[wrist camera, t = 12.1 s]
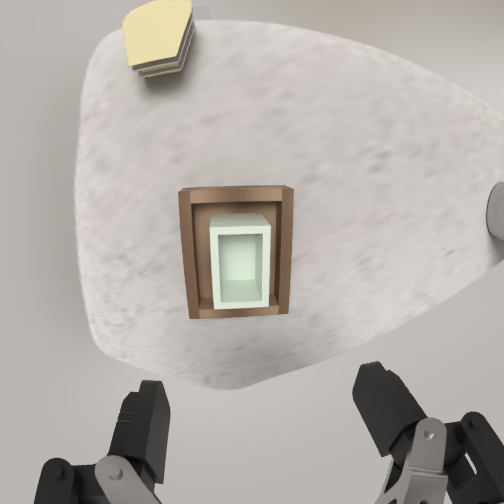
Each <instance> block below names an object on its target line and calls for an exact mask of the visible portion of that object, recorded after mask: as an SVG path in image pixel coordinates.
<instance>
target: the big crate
mask: <svg viewBox="0 0 504 504" xmlns="http://www.w3.org/2000/svg"><path fill="white" fill-rule="evenodd" d="M293 195H294V189H292V188H290V187H287V186H221V187H197V188H183V189H182V190H180V191H179V192H178V196H179V213H180V228H181V241H182V253H183V264H184V274H185V283H186V292H187V301H188V309H189V317H190V319H205V318H229V317H248V316H263V315H277V314H288V308H289V292H290V274H291V254H292V229H293ZM241 213H262V215H263V216H264V217H265V219H266V220H267V221H268V223H269V224H270V225H271V238H270V278H269V307H255V308H236V309H214V301H213V286H212V269H211V250H210V221H211V214H241Z"/></svg>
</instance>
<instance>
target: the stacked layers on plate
mask: <svg viewBox="0 0 504 504" xmlns="http://www.w3.org/2000/svg"><path fill="white" fill-rule="evenodd" d="M210 16H211V15H210V6H202V7H193V8H192V6H191V0H155V1H153V2H150V3H148V4H145V5H143V6H141V7H139V8H136V9H134V10H133V11H131V12H130V13H129V14H128V15H127V16H126V17H125V18H124V20H123V23H122V30H123V37H124V43H125V49H126V55H127V61H128V66H132V68H133V70H134V71H138V72H139V76H140V77H146V76H147V77H148V78H149V77H154V76H159V75H164V74H169V73H174V72H180V71H181V69H182V68H183V65H184V61H185V58H186V54H187V51H188V48H189V45H190V41H191V38H192V35H193V32H194V29H195V23H194V20H211V17H210Z"/></svg>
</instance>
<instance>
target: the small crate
mask: <svg viewBox="0 0 504 504" xmlns="http://www.w3.org/2000/svg"><path fill="white" fill-rule="evenodd" d="M270 238H271V225H270V224H269V223H268V221H267V220H266V219H265V217H264V216H263V215H262V213H241V214H211V221H210V250H211V269H212V286H213V301H214V309H236V308H255V307H269V278H270Z"/></svg>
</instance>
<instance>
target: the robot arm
mask: <svg viewBox="0 0 504 504" xmlns="http://www.w3.org/2000/svg"><path fill="white" fill-rule="evenodd" d="M487 223H488V228H489V231H490V233H491V235H492V236H494V237H496V238H498V239H501V240H503V241H504V182H499V183H498V184H497V185H496V186H495V187H494V189H493V190H492V193H491V195H490V199H489V203H488V209H487ZM352 394H353V400H354V402H355V404H356V406H357V408H358V410H359V412H360V414H361V416H362V418H363V420H364V422H365V424H366V426H367V428H368V430H369V432H370V434H371V436H372V438H373V440H374V442H375V444H376V446H377V448H378V450H379V453H380V455H381V457H384V456H387V455H389V454H391V455H392V457H393V459H392V460H391V463H390V466H389V470H388V473H387V476H386V479H385V482H384V485H383V488H382V491H381V493H380V495H379V497H378V499H377V501H376V502H375V504H443V503H444V498H445V493H446V490H447V492H448V495H449V497H450V499H451V501H452V504H504V445H503V444H502V442H501V441H500V439H499V438H498V436H497V435H496V433H495V432H494V430H493V429H492V427H491V426H490V424H489V423H488V422H487V420H486V419H485V417H484V416H483V415H482V414H480V413H478V412H469V413H466V414H465V415H464V417H463V418H462V419H461V421H458V422H452V423H445V424H443V422H441V421H440V420H438V419H435V418H428V417H427V416H426V414H425V413H424V412H423V410H422V409H421V407H420V406H419V405H418V403H417V401H416V400H415V398H414V397H413V396H412V394H411V393H409V390H408V388H407V387H406V386H405V384H404V383H403V381H402V380H401V379H400V377H399V376H397V375H396V374H395V373H393V372H392V371H390V370H388V371H386V370H385V369H384V367H383V366H382V365H381V363H380V362H378V361H376V362H371V363H367V364H362V365H361V366H360V368H359V371H358V375H357V377H356V381H355V384H354V387H353V392H352ZM169 424H170V406H169V402H168V399H167V396H166V393H165V389H164V386H163V383H162V381H152V380H143V381H142V382H141V385H140V389H139V392H130V393H129V394H128V396H127V397H126V398H125V399H124V400H123V403H122V406H121V409H120V413H119V416H118V422H117V423H116V427H115V430H114V434H113V437H112V441H111V445H110V449H109V452H108V454H107V456H106V457H104V458H102V459H100V460H99V461H98V463H96V464H92V465H76V466H72V465H70V463H69V462H67V461H66V460H64V459H61V458H53V459H50V460H48V461H47V462H46V463H45V464H44V466H43V468H42V472H41V475H40V479H39V483H38V487H37V491H36V495H35V500H34V504H162V502H161V501H160V500H159V499H158V497H157V496H156V495H155V493H154V486H155V483H159V484H163V481H164V469H165V458H166V449H167V440H168V431H169ZM466 453H467V454H468V455H469V457H470V459H471V461H472V462H473V464H474V466H475V468H476V471H477V473H476V475H475V473H474V471H473V469H472V467H471V466H470V464H469V462H468V460H467V458H466V457H465V454H466Z"/></svg>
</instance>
